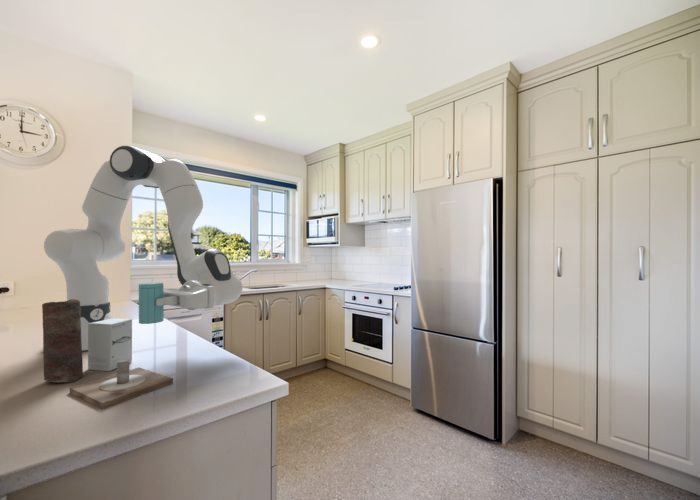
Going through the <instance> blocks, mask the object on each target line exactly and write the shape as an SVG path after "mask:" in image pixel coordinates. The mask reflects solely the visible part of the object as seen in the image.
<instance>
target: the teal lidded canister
mask: <svg viewBox="0 0 700 500" xmlns="http://www.w3.org/2000/svg"><path fill="white" fill-rule="evenodd" d="M163 288H164V282H145V283H143V282H142V283H139V284H138V324H142V325H149V324H150V325H151V324H157V323H158V324H159V323H163V322H164V321H165V319H164V315H165V313H164V311H165V310H164V306H165V305H161V306H157V305H154V299H156V298H163Z"/></svg>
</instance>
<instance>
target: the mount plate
mask: <svg viewBox="0 0 700 500" xmlns="http://www.w3.org/2000/svg"><path fill="white" fill-rule="evenodd" d="M171 383H172V384H174V378H173V377H169V376H168V375H164V374H161V373H158V372H154V371H152V370H149V369H146V368H142V367H135V368H132V369H130V363H129V360H121V361H118V362H117V368H116V373H115V374H112V375H109V376H104V377H102V378H99V379H95V380H91V381H87V382H84V383H81V384H78V385H77V384H76V385H74V386H71V387H69V394H71V395H73V396H75V397H77V398H80V399H81V400H84V401H86V402H88V403H90V404H92V405H94V406H96V407H97V408H99V409H100V408H101V409H107V408H109V407H111V406H114V405H117V404H120V403H123V402H125V401H128V400H130V399H134V398H136V397H139V396H142V395H145V394H147V392H148V393H149V391H150V392H152V390H153V391H155V389H156V390H158V388H159V389H161V388H164V387H166V385H167V386H169V385H168V384H170V385H172V384H171ZM163 386H164V387H163ZM144 393H145V394H144ZM141 394H142V395H141Z"/></svg>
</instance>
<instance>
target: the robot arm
mask: <svg viewBox="0 0 700 500" xmlns="http://www.w3.org/2000/svg"><path fill="white" fill-rule="evenodd" d="M140 185H141V186H143V187H145V188H153V189H159V191H160V193H161V195H162V198H163V199H162V200H163V201H164V204H165V209H166V214H167V229H168V234H169V238H170V241H171V245H172V250H173V252H174V256H175V257H174V258H175V261H176V265H177V266H176V267H177V268H176V269H177V271H176V274H177V275H176V276H177V278H178V281H179V284H180V285H181V287H180V288H175V287H174V288H173V287H170V288H169V287H166V288H164V287H163V298H156V299H154V305H157V306H161V305H164V306H171V307H179V308H184V309H186V310H188V311H197V310H201V309H203V310H204V309H208V310H209V309H215V307H216V306H217V307H218V306H223V305H228V304H231V303H233V302H235V301H237V300H238V299H239V298H240V296H241V295H242V292H243V282H242V280H241V279H240V278H239V277H237V276H236V275H235V273H234V272H233V270H232V268H231V264H230V260H229V258H228V256H227V255H226V254H225V253H224V252H223V251H221V250H219V249H215V248H210V249H208V250H206V251H204V252H202V253H201V254H199V255H198V256H197V255H196V251H195V249H194V248H195V247H194V245H193V240H192V237H191V235H192V231H193V226H194V224H195V223H196V221H197V219H198V218H199V216H200V215H201V213H202V210H203V208H204V202H203V201H204V200H203V196H202V193H201V191H200V188H199V186H198V184H197V181H196V180H195V177H194V176H193V174H192V173H191V171H190V169H189V168H188V167H187V165H186V164H185V163H184V162H183V161H181V160H179V159H166V158H163V157H161V156H159V155H157V154H155V153H154V152H150V151H147V150H144V149H140V148H138V147H136V146H133V145H121V146H118V147H116V148H115V149H114V150H113V151H112V152H111V154H110V158H109V160H106V161H105V162H103V164H102V165H101V166H100V168H99V169H98V171H97V172H96V174H95V175H94V177H93V180H92V181H91V184H90V186H89V188H88V191H87V194H86V196H85V198H84V200H83V203H82V205H81V206H82V207H81V210H82V212H83V213H84V214H85V216H86V217H87V220H88V223H87V228H86V229H82V228H80V229H79V228H65V229H59V230H54V231H52V232H49V234H48V235H47V236H46V238H45V240H44V243H43V249H44V252H45V254H46V255H47V257H48V258H49V259H50V260H52V261H53V262H55V263H56V264H57V266H58V267H59V268H60V270H61V272H62V274H63V276H64V280H65V285H66V286H65V287H66V301H68V300H70V299H74V300H79V301H80V309H81V311H80V312H81V341H82V352H83V351H88V324H89V323H93V322H98V321H102V320H107V319H111V318H115V317H114V316H113V315H112V314H110V312H111V302H110V299H109V298H110V297H109V296H110V295H109V293H110V292H109V284H110V283H109V279H108V278H107V276H105V275H103V274H102V273H101V271H100V269H99V268H98V264H97V263H103V262H108V261H109V262H110V261H112V260H115V259H118V258H121V256H122V255H123V254H124V253H125V250H126V243H125V239H124V238H123V237H122V234H121V224H122V218H123V216H124V212H125V210H126V208H127V205H128V202H129V201H130V200H129V199H130V198H131V196H132V192H133V190H134V189H135V188H136V187H137V186H140Z"/></svg>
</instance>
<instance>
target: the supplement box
mask: <svg viewBox="0 0 700 500" xmlns="http://www.w3.org/2000/svg"><path fill="white" fill-rule="evenodd" d="M121 360H129V364H131V363H133V361H132V360H133V319H132V318H115V317H114V318H111V319H107V320H102V321H98V322H93V323H89V324H88V350H87V369H88V370H92V371H94V370H95V371H104V372H111V371H112V370H115V369H117V362H118V361H121Z"/></svg>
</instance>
